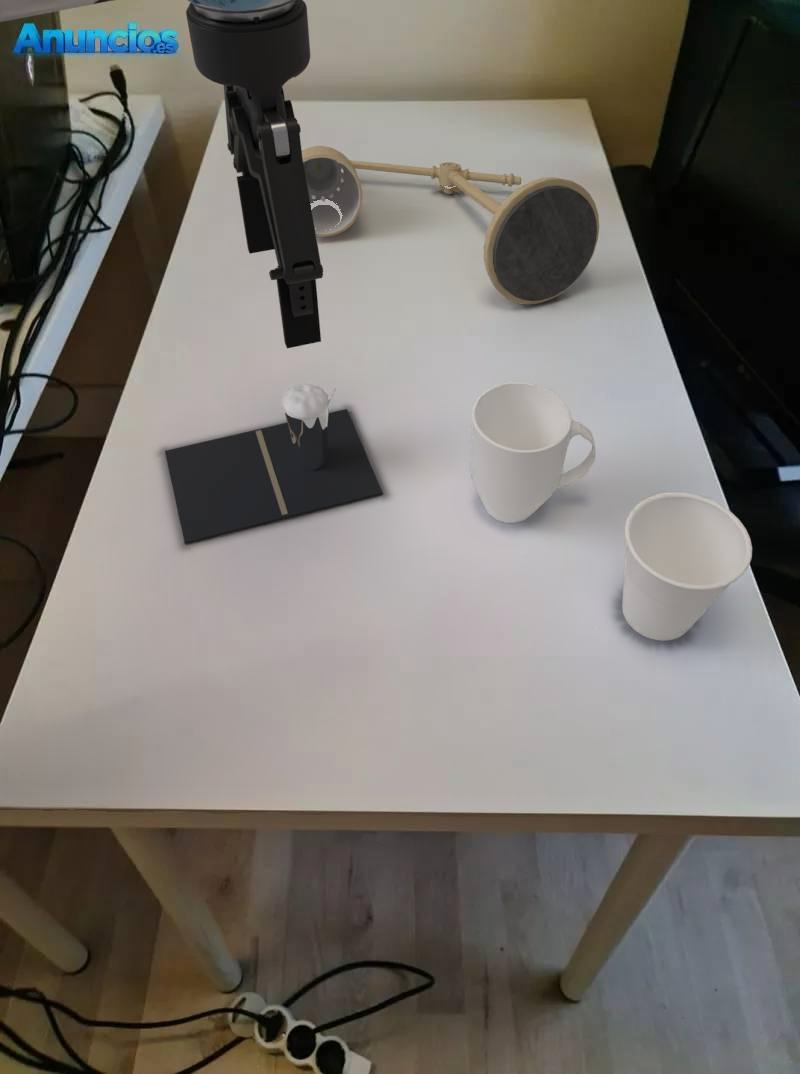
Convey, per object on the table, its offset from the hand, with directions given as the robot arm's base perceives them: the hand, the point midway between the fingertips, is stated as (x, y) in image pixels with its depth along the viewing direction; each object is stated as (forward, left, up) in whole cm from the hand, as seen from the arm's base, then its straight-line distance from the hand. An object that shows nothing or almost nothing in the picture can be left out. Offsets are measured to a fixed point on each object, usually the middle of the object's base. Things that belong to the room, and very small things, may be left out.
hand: (282, 293), depth 68 cm
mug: (+20, -10, -23) cm, 32 cm away
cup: (+26, -26, -23) cm, 43 cm away
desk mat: (-3, +2, -22) cm, 23 cm away
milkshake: (+1, +2, -22) cm, 22 cm away
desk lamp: (+26, +39, -22) cm, 52 cm away
